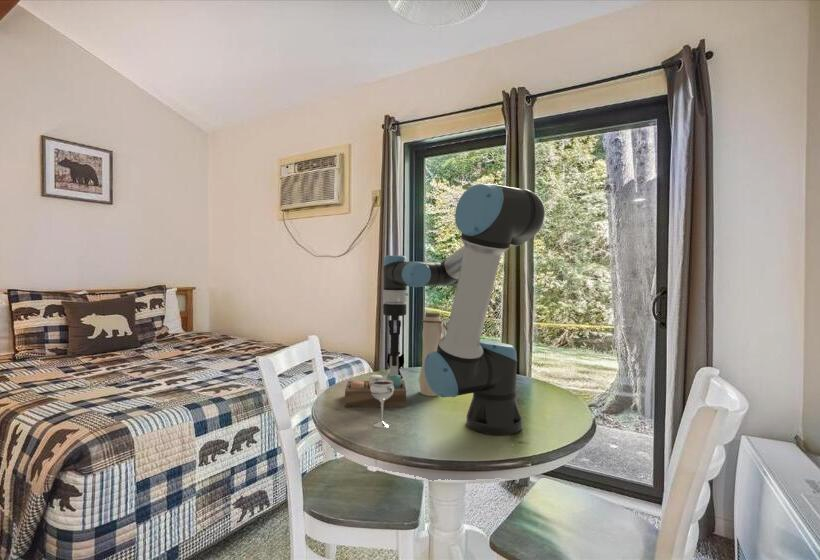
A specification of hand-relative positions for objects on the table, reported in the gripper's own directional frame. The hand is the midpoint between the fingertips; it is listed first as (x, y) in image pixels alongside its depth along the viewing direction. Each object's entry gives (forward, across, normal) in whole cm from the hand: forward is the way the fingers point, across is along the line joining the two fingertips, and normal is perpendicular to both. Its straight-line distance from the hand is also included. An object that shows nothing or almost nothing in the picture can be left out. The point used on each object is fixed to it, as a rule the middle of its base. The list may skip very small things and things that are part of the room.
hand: (393, 374), depth 139 cm
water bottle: (+9, +8, -14) cm, 18 cm away
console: (+8, 0, +6) cm, 10 cm away
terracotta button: (+8, 0, +12) cm, 14 cm away
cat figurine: (+9, +18, -1) cm, 20 cm away
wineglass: (+9, -21, +4) cm, 23 cm away
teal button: (+6, 0, 0) cm, 6 cm away
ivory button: (+6, 0, +6) cm, 8 cm away
